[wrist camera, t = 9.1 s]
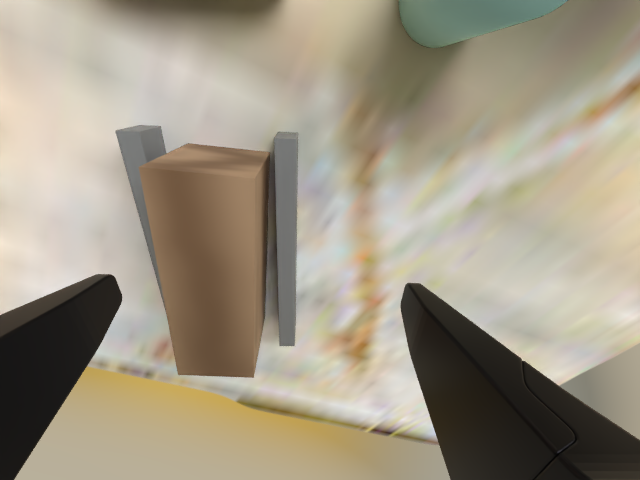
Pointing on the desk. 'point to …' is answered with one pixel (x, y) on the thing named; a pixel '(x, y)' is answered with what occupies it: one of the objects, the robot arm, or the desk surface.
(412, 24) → the nose cylinder
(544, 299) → the desk surface
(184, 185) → the block
